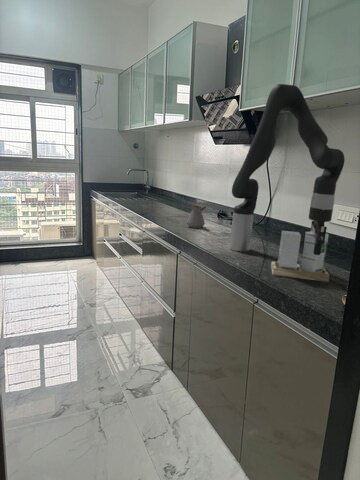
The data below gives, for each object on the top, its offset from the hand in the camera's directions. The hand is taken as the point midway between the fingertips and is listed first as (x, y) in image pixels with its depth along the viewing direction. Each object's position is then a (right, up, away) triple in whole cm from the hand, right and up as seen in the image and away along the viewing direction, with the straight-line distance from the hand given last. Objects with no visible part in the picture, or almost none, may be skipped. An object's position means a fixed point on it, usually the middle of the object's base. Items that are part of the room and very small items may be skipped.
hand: (314, 251), depth 127 cm
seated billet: (-9, -8, +3) cm, 13 cm away
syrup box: (-1, -7, +2) cm, 7 cm away
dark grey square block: (+3, -8, +12) cm, 15 cm away
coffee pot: (-38, +11, +87) cm, 95 cm away
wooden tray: (-5, -9, +3) cm, 11 cm away
